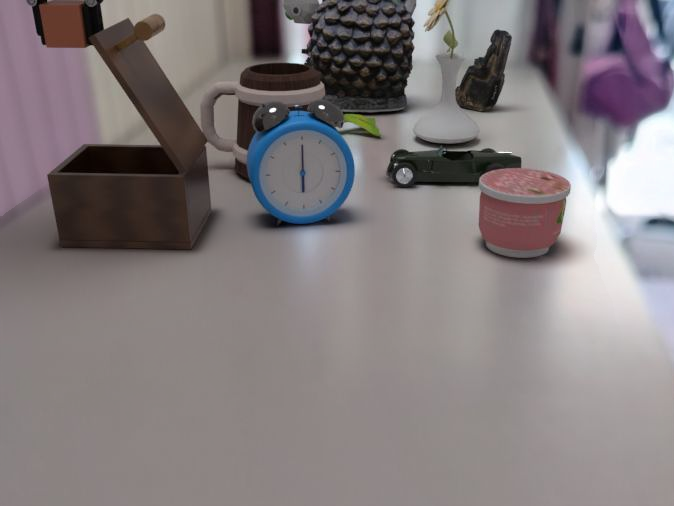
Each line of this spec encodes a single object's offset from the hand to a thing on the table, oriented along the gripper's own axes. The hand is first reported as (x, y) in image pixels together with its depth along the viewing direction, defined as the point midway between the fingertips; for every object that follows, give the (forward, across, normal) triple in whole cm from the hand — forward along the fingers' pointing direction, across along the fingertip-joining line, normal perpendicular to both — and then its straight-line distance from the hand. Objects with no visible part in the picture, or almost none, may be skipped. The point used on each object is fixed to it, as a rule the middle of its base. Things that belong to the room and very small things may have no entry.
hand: (72, 41), depth 90 cm
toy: (+23, -25, -47) cm, 58 cm away
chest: (+22, -5, 0) cm, 23 cm away
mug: (+23, -18, -25) cm, 38 cm away
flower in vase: (+23, -46, -43) cm, 67 cm away
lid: (+6, -8, 0) cm, 10 cm away
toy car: (+23, -46, -22) cm, 56 cm away
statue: (+23, -54, -67) cm, 89 cm away
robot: (+23, -24, -94) cm, 100 cm away
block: (0, 0, 0) cm, 0 cm away
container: (+23, -52, +3) cm, 57 cm away
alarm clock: (+23, -25, -5) cm, 34 cm away
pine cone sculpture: (+23, -31, -66) cm, 76 cm away
